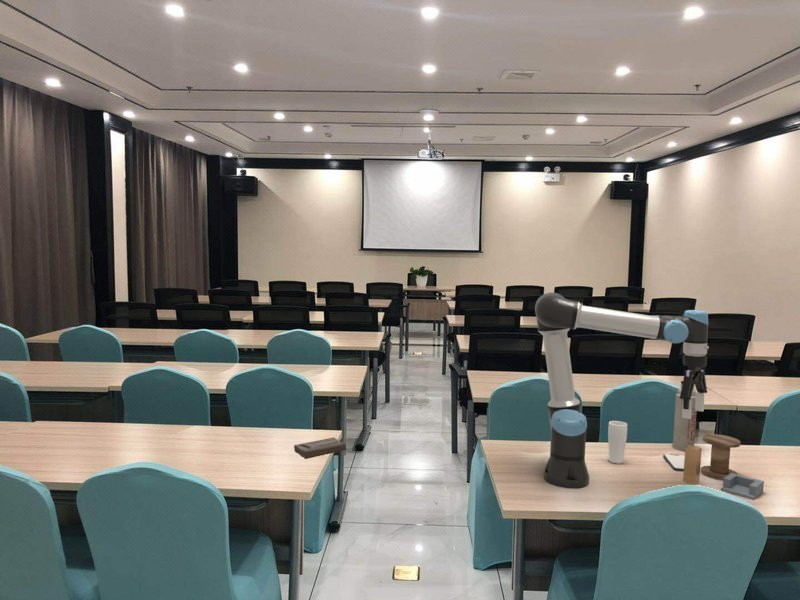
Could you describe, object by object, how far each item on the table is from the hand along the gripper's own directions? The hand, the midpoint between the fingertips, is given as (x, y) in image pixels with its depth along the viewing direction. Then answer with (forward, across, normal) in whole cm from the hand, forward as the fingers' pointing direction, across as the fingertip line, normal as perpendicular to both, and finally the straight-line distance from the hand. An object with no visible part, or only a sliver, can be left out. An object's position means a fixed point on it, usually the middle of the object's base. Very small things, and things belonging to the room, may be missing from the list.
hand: (693, 414), depth 211 cm
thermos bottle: (+24, +35, +14) cm, 45 cm away
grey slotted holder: (+24, +2, -16) cm, 29 cm away
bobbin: (+24, +13, -5) cm, 28 cm away
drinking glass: (+23, -2, +26) cm, 35 cm away
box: (+20, -78, +110) cm, 137 cm away
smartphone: (+24, +14, +8) cm, 29 cm away
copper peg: (+23, -2, -1) cm, 23 cm away
